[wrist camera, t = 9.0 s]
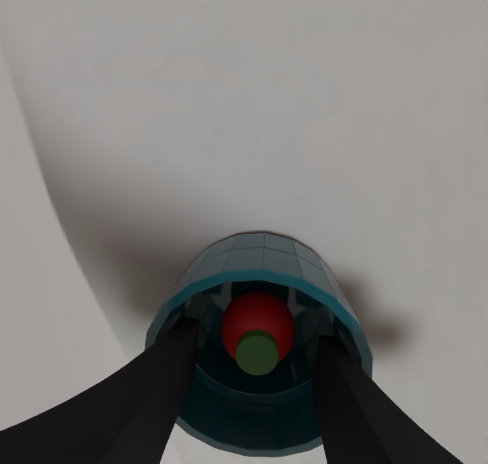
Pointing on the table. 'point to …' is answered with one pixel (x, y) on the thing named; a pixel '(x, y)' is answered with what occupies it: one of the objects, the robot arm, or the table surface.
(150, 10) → the table surface
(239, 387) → the bowl
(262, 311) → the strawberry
